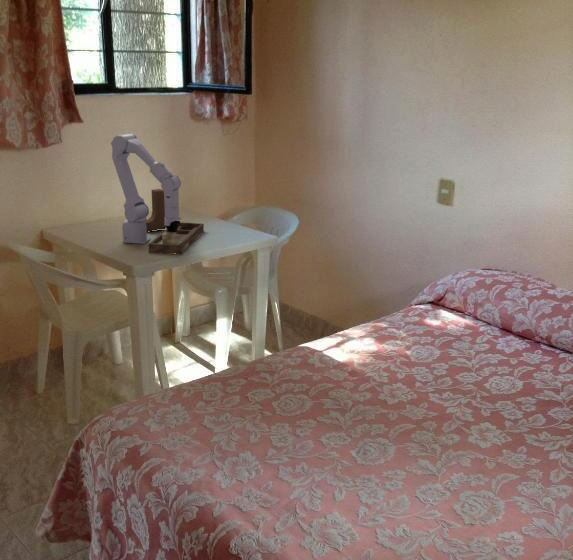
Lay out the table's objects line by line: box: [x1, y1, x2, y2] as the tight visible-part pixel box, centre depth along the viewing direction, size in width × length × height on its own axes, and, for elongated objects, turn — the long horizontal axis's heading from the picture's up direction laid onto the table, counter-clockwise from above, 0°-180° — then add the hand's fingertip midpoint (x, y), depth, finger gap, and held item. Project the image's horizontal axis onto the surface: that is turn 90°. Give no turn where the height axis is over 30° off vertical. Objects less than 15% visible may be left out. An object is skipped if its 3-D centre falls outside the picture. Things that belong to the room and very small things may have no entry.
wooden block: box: [146, 188, 167, 233], centre depth 291 cm, size 9×4×18 cm, turn 125°
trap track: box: [148, 221, 205, 255], centre depth 278 cm, size 13×37×4 cm, turn 173°
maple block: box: [162, 232, 177, 245], centre depth 265 cm, size 4×4×4 cm
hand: (172, 238), depth 270 cm, fingers closed
